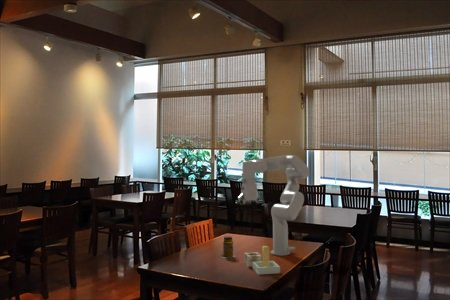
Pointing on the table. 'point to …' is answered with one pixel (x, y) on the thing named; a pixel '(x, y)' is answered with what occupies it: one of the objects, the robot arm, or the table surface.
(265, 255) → the dowel
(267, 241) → the table surface
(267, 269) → the tray
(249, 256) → the socket block
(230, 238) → the condiment
